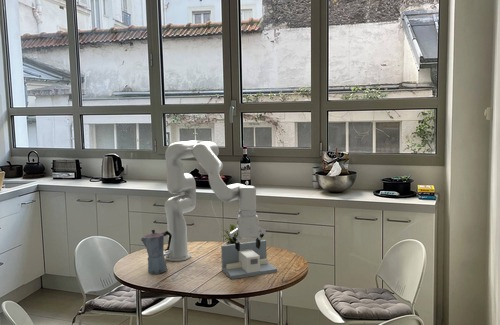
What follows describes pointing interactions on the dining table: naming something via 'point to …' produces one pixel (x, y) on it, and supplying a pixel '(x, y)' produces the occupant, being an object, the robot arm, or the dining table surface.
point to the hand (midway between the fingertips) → (247, 249)
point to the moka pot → (156, 251)
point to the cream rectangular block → (249, 260)
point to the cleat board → (234, 258)
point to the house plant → (229, 234)
